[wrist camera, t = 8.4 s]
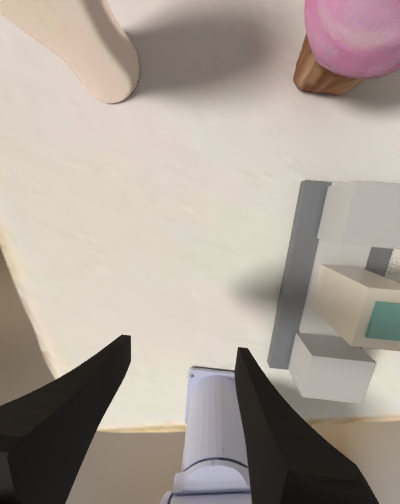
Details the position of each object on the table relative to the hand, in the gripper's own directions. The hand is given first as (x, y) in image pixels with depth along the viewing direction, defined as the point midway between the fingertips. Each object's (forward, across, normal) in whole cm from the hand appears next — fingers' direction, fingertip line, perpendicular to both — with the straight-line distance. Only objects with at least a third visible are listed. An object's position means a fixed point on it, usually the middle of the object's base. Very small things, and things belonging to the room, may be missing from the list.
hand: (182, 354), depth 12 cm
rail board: (+10, -15, -2) cm, 18 cm away
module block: (+9, -15, -2) cm, 18 cm away
